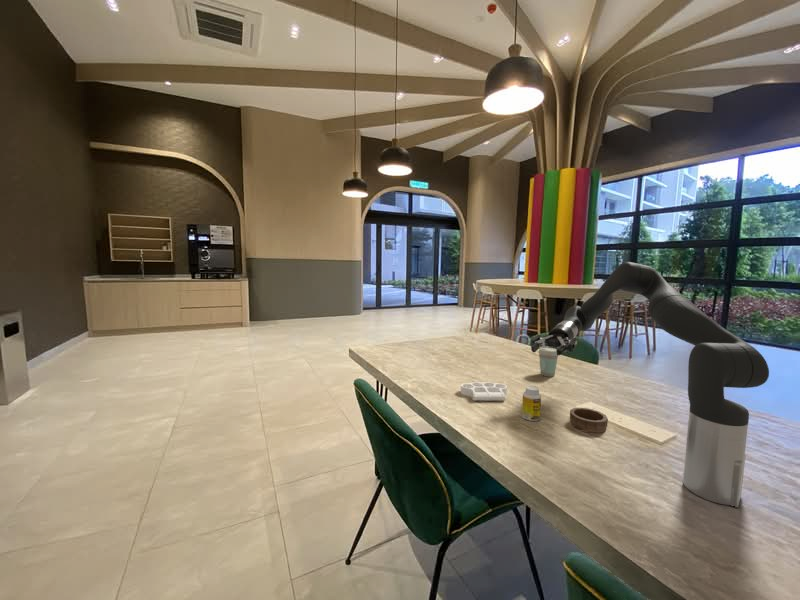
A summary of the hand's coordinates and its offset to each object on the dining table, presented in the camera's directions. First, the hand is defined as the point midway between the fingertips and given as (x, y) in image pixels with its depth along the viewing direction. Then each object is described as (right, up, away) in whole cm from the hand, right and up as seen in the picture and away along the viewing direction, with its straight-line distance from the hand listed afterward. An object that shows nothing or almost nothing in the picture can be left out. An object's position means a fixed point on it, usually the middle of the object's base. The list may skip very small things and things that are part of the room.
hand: (544, 351), depth 114 cm
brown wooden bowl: (+9, -22, -9) cm, 25 cm away
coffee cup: (+18, -17, +39) cm, 46 cm away
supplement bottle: (-7, -21, -4) cm, 23 cm away
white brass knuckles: (-17, -20, +16) cm, 30 cm away
